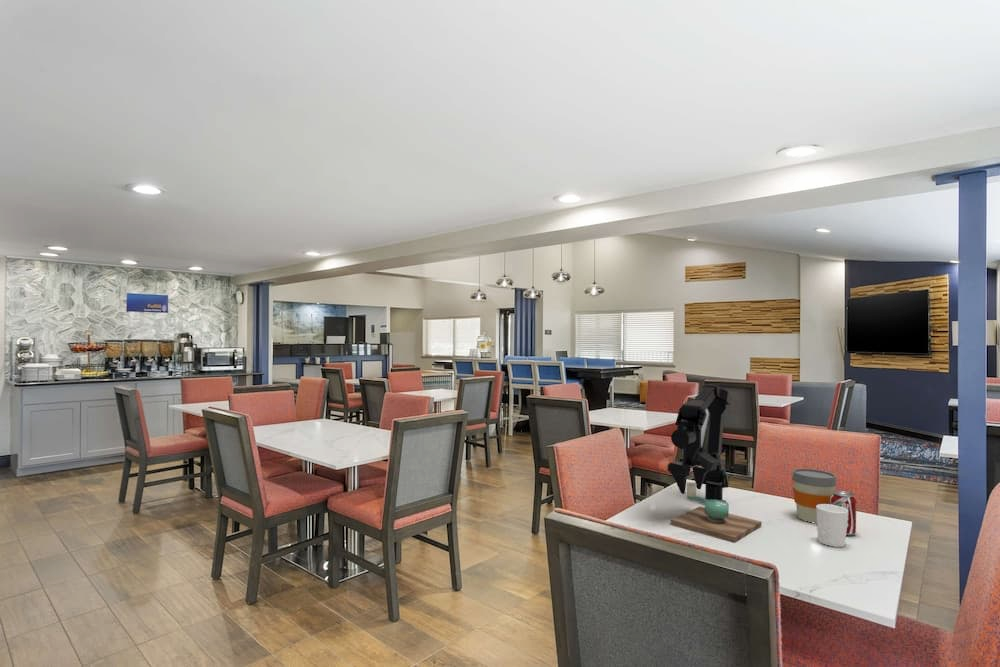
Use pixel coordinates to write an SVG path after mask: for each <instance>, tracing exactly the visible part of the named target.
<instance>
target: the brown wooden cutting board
mask: <svg viewBox="0 0 1000 667" xmlns="http://www.w3.org/2000/svg"><path fill="white" fill-rule="evenodd" d="M704 507H705V506H701V505H700V506H697V507H696V508H694V509H691V510H689V511H686V512H684V513H682V514H680V515H677V516H675V517H674V518H671V519H670V525H671V526H675V527H678V528H682V529H685V530H689V531H693V532H696V533H701V534H704V535H707V536H710V537H715V538H717V539H721V540H726V541H728V542H732V543H737V542H739V541H740V540H742V539H744V538H745V537H747V536H748V535H750V534H753V532H755V531H757V530H758V529H759V528H762V526H763V525H762V521H761V520H757V519H753V518H748V517H746V516H745V517H744V516H740V515H736V514H733V513H729V514H728V517H726V518H716V517H711V516H708V515H706V514H705V513H704Z"/></svg>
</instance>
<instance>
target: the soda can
mask: <svg viewBox="0 0 1000 667" xmlns="http://www.w3.org/2000/svg"><path fill="white" fill-rule="evenodd" d="M830 505H836V506H840V507H843V508H845V509H847V510H848V521H847V532H846V535H851V536H853V535H855V534H856V533H857V500H856V498H855V494H854V493H852V492H849V491H844V490H834V491H833V495H832V496H831V497H830Z"/></svg>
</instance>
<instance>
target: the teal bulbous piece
mask: <svg viewBox="0 0 1000 667" xmlns="http://www.w3.org/2000/svg"><path fill="white" fill-rule="evenodd" d="M696 486H697V484H696V483H695V482H693V481H690V482H689V481H686V499H688V500H691V501H695V502H698V503H701V504H703V505H704V506H703V507H704V513H705V514H706V515H708V516H711V517H716V518H726V517H728V514H730V513H729V511H730V510H729V508H730V507H729V506H730V504H729V503H728V502H727V501H726V502H724V501H720V500H707V499H705V497H700V496H697V487H696Z"/></svg>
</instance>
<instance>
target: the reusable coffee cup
mask: <svg viewBox="0 0 1000 667" xmlns="http://www.w3.org/2000/svg"><path fill="white" fill-rule="evenodd" d="M792 481H793V487H792V493H793V500H794V503H795V504H796V505H795V506H796V514H797V519H799V518H800V519H802V520H801V521H803V520H804V521H803V522H805V521H808V522H807V523H809V522H814V523H813V524H815V523H817V512H816V506H817V505H819V504H829V505H830V497H831V496H832V495H833V491H836V490H835V489H836V487H837V476H836V474H834V473H832V472H829V471H825V470H821V469H820V470H819V469H812V468H796V469H793V470H792ZM800 519H799V520H800Z"/></svg>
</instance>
